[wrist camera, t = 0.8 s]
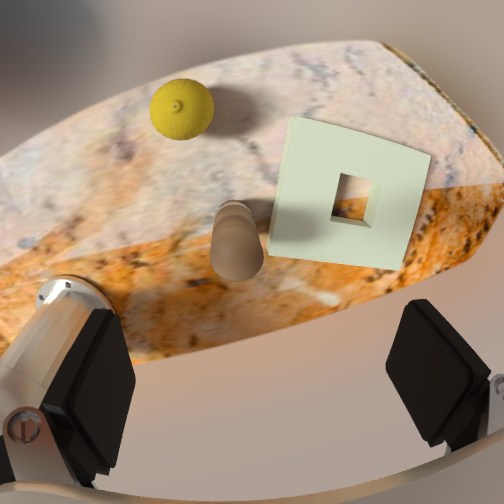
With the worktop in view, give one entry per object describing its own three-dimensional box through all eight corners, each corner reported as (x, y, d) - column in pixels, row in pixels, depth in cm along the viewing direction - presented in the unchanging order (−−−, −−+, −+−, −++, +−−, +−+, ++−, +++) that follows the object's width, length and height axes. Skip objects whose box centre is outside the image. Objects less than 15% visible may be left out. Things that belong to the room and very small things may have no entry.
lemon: (157, 136, 28) (134, 140, 21) (164, 83, 26) (144, 69, 19) (211, 141, 29) (206, 145, 21) (220, 88, 27) (217, 74, 19)
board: (389, 261, 36) (399, 270, 33) (265, 246, 34) (268, 255, 31) (418, 152, 30) (431, 155, 28) (289, 116, 28) (295, 115, 26)
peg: (248, 234, 33) (259, 284, 23) (212, 230, 32) (206, 279, 22) (254, 199, 31) (268, 235, 21) (216, 194, 31) (212, 228, 21)
